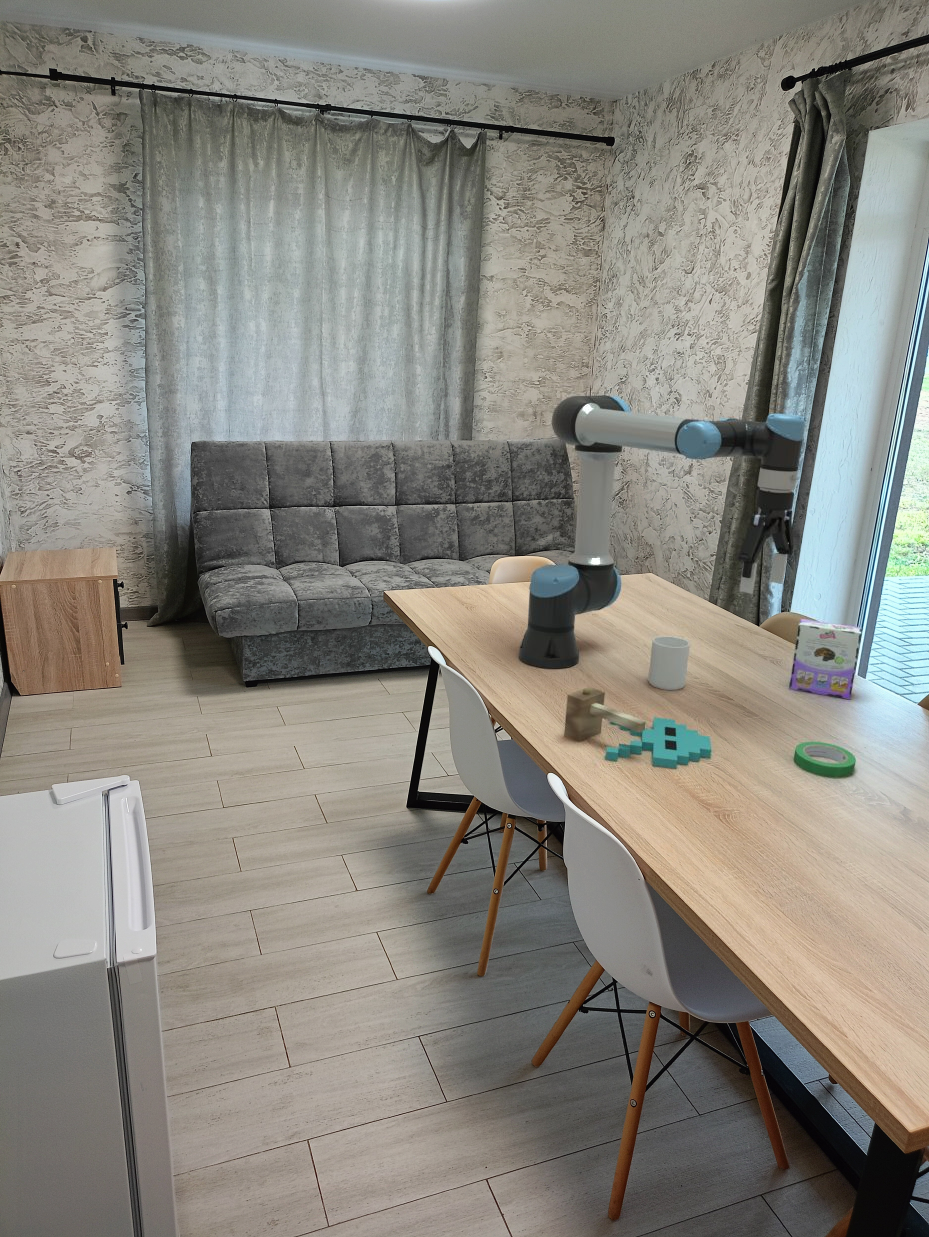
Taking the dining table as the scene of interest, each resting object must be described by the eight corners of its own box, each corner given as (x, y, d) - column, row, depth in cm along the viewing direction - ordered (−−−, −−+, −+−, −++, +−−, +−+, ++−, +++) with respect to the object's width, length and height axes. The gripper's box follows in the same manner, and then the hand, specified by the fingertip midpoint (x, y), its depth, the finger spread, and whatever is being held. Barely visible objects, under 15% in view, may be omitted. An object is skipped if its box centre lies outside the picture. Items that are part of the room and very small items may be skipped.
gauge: (564, 735, 184) (567, 690, 181) (585, 726, 189) (589, 683, 186) (628, 763, 173) (633, 715, 170) (649, 753, 178) (654, 706, 175)
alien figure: (605, 762, 174) (712, 775, 171) (606, 751, 174) (713, 764, 170) (610, 721, 193) (706, 733, 189) (611, 712, 192) (707, 723, 189)
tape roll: (847, 784, 169) (850, 771, 168) (787, 768, 175) (789, 755, 174) (858, 763, 178) (860, 751, 177) (800, 748, 184) (802, 736, 183)
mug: (675, 673, 223) (679, 631, 220) (689, 691, 211) (694, 647, 208) (640, 672, 222) (645, 631, 219) (653, 690, 211) (657, 646, 208)
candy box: (851, 692, 215) (863, 626, 211) (850, 700, 210) (862, 633, 205) (790, 681, 221) (800, 617, 216) (788, 689, 216) (798, 623, 211)
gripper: (764, 497, 179) (749, 600, 185) (819, 487, 196) (803, 582, 202) (729, 491, 184) (716, 592, 190) (786, 482, 201) (772, 575, 207)
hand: (761, 587), depth 196 cm, fingers open, 13 cm apart
